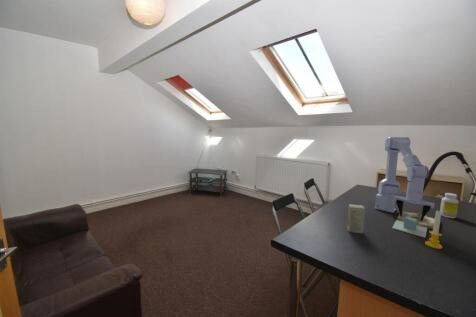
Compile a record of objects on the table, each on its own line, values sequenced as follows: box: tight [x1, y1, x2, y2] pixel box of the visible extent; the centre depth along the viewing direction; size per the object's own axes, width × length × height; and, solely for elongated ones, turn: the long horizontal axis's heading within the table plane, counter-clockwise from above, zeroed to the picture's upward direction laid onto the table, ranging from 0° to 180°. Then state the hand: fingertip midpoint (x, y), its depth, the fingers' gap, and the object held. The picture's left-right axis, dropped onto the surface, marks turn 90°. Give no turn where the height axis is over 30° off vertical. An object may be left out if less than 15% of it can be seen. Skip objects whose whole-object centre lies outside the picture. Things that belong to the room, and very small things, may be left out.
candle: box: [424, 210, 443, 250], centre depth 84 cm, size 5×5×16 cm
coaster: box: [391, 219, 428, 239], centre depth 100 cm, size 12×12×1 cm
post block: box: [396, 210, 435, 230], centre depth 108 cm, size 16×14×5 cm
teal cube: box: [403, 217, 417, 231], centre depth 99 cm, size 4×4×4 cm
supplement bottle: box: [439, 192, 459, 219], centre depth 115 cm, size 7×7×13 cm
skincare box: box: [346, 203, 366, 234], centre depth 96 cm, size 6×4×12 cm
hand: (410, 218), depth 99 cm, fingers open, 7 cm apart
